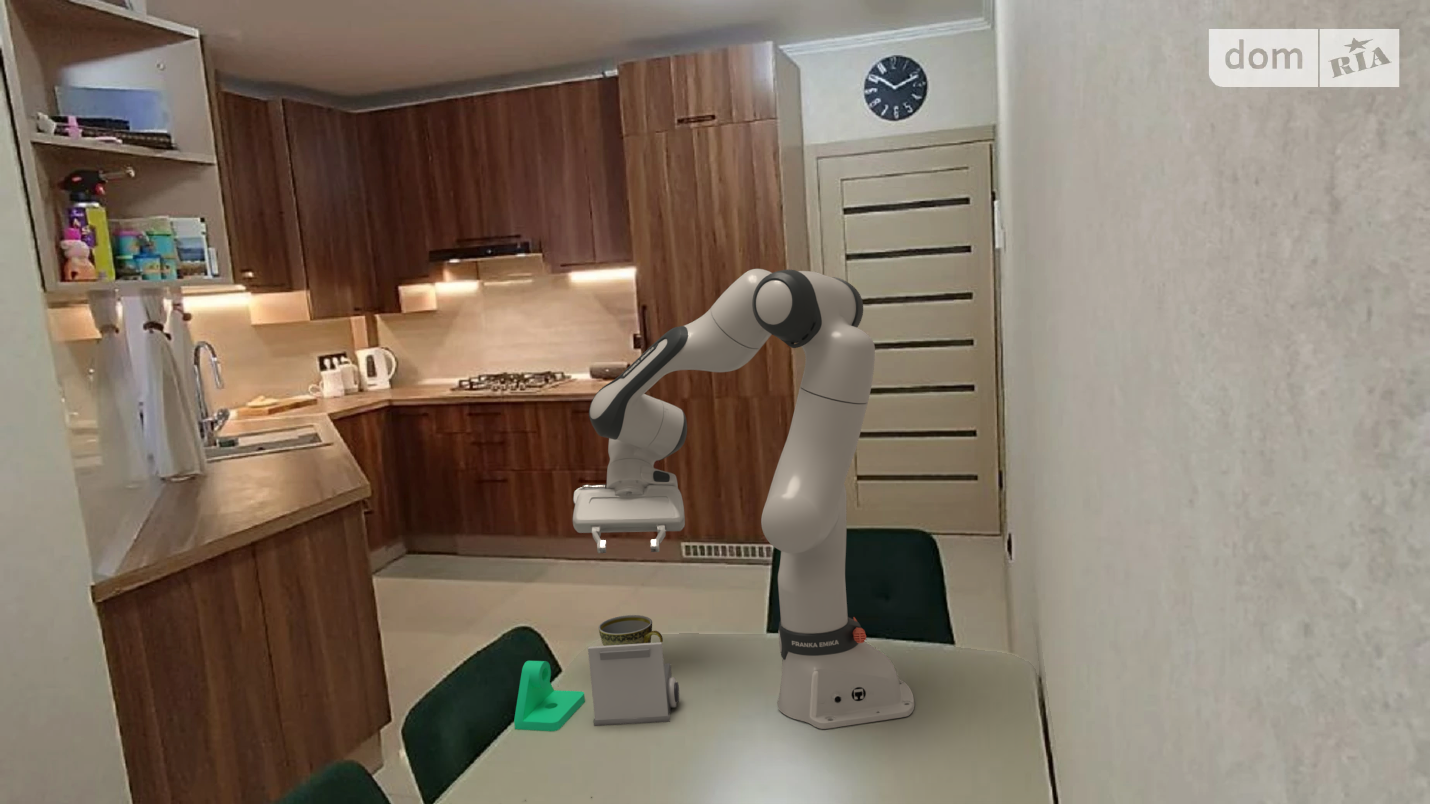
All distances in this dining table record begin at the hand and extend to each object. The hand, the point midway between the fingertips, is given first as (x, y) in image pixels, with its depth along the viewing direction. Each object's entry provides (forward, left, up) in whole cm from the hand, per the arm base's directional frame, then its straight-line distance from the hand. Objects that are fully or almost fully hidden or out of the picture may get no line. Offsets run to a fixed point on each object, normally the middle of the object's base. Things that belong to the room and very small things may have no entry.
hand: (628, 551), depth 163 cm
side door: (-1, +15, -25) cm, 29 cm away
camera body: (-1, +10, -26) cm, 27 cm away
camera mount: (+14, +10, -26) cm, 31 cm away
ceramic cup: (+1, -6, -26) cm, 26 cm away
